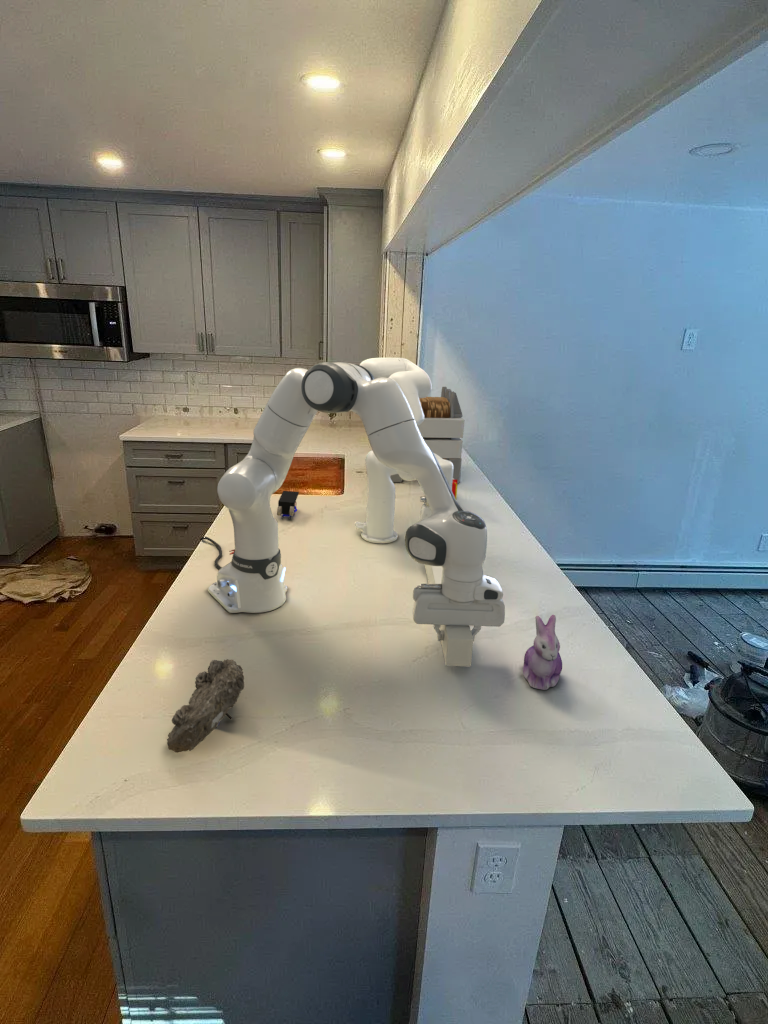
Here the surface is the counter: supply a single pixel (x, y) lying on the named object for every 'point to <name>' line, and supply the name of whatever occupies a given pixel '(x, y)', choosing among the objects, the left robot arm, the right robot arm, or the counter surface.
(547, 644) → the figurine
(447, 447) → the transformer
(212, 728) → the fossil
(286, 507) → the figurine character
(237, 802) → the counter surface
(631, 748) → the counter surface
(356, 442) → the counter surface
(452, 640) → the beam
